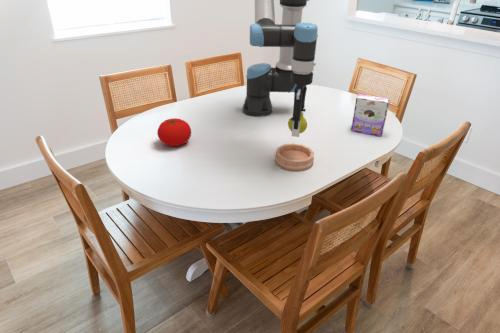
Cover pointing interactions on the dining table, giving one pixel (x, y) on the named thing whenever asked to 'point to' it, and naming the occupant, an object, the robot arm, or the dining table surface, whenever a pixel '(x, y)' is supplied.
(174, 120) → the tomato
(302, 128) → the fruit
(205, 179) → the dining table surface
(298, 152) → the dish
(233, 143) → the dining table surface
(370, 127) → the candy box
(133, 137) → the dining table surface
